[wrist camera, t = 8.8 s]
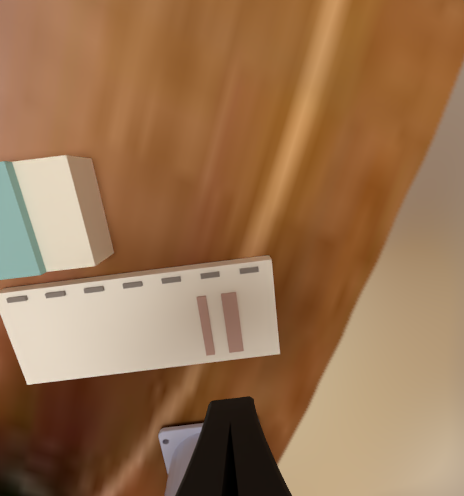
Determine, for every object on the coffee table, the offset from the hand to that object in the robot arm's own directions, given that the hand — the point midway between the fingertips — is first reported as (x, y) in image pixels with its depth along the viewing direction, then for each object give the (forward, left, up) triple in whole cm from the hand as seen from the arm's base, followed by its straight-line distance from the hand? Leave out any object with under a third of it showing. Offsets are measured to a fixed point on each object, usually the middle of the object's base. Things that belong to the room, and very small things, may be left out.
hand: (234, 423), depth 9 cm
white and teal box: (+7, +11, -11) cm, 17 cm away
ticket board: (-1, +6, -10) cm, 12 cm away
